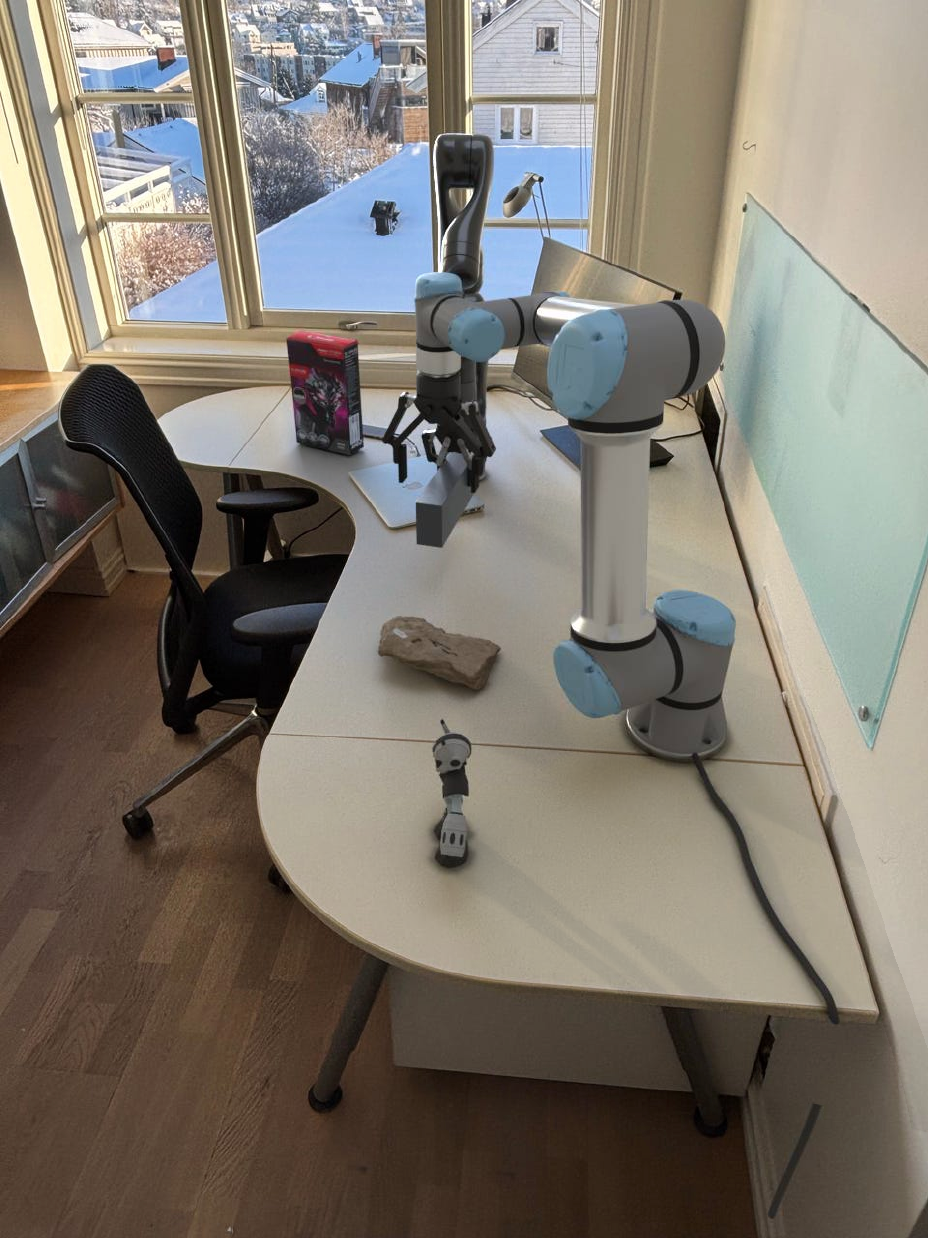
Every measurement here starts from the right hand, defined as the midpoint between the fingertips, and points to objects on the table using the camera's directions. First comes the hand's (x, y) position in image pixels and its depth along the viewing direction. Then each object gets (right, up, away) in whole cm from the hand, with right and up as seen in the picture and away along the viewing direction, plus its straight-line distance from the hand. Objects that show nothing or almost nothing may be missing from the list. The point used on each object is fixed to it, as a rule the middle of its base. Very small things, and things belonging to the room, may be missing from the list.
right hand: (438, 484), depth 167 cm
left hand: (+3, +3, +16) cm, 16 cm away
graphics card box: (-29, +19, +66) cm, 75 cm away
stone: (-1, -32, -10) cm, 34 cm away
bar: (+1, -5, +12) cm, 13 cm away
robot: (+3, -55, -44) cm, 70 cm away
